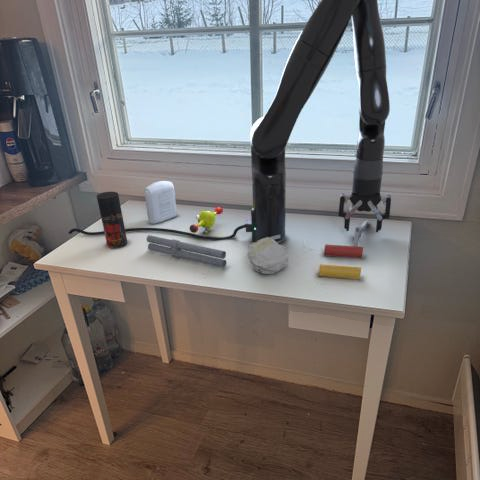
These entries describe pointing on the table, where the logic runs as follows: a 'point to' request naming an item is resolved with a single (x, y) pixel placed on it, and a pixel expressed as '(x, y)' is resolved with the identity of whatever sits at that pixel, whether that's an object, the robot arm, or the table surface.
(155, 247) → the metal rod assembly
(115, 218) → the deodorant
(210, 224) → the toy figure
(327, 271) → the yellow rod
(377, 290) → the table surface
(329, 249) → the red rod
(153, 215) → the white rounded block
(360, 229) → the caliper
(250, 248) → the fossil replica
